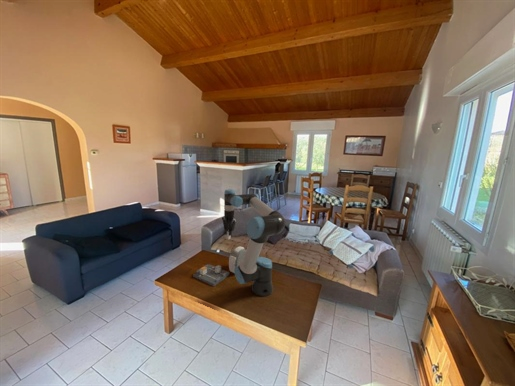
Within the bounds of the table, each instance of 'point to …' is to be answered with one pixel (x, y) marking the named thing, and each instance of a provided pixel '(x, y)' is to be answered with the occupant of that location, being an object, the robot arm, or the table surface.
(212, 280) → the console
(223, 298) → the table surface
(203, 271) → the fader
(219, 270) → the fader
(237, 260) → the alarm clock
